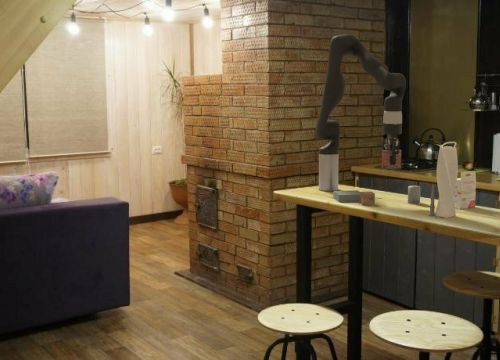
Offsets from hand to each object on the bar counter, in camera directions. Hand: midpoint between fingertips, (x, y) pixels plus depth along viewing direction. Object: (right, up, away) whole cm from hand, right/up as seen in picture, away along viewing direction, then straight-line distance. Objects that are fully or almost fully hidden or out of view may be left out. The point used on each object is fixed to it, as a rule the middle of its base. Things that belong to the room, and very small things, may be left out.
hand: (391, 163), depth 254 cm
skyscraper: (+14, -21, -24) cm, 35 cm away
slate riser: (-16, -15, +13) cm, 25 cm away
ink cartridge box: (+27, -18, -8) cm, 33 cm away
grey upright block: (+10, -16, +3) cm, 19 cm away
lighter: (0, -2, 0) cm, 2 cm away
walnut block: (-10, -17, +1) cm, 20 cm away
